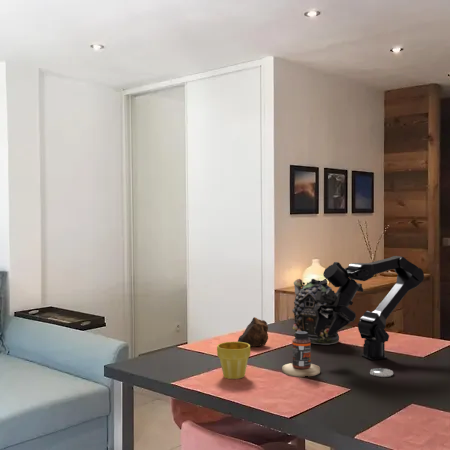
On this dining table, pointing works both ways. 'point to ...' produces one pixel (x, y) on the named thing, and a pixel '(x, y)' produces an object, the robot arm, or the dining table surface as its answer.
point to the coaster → (301, 370)
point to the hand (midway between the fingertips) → (321, 334)
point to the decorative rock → (255, 333)
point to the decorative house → (311, 311)
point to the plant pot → (233, 358)
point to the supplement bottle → (301, 350)
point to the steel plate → (381, 372)
